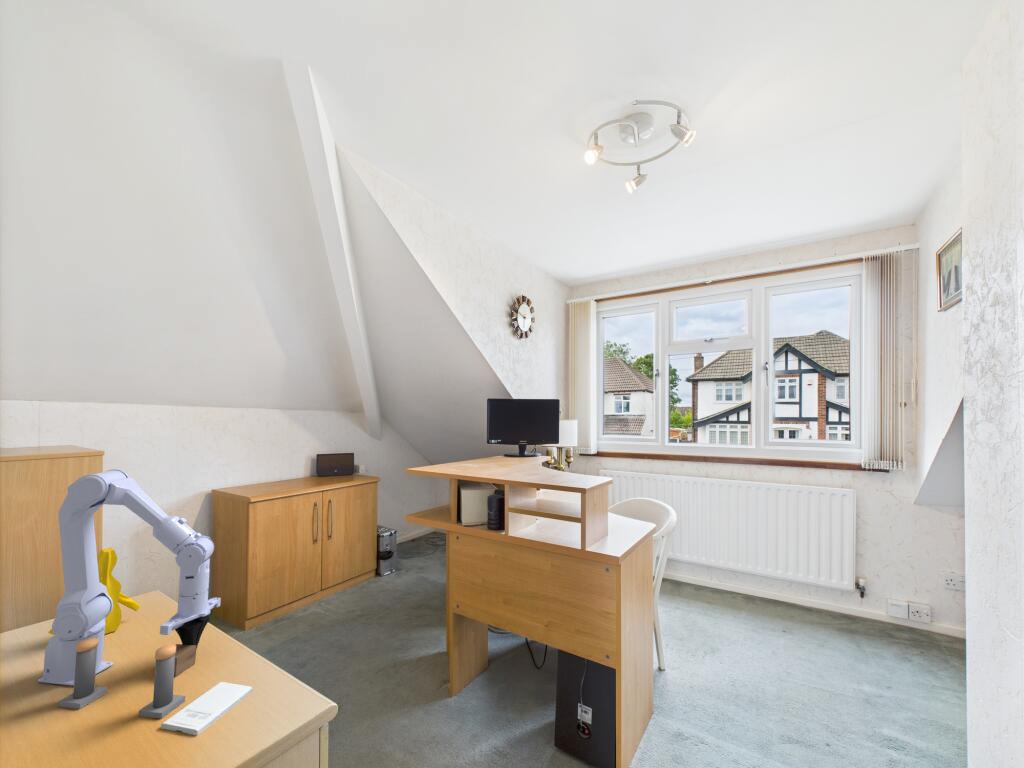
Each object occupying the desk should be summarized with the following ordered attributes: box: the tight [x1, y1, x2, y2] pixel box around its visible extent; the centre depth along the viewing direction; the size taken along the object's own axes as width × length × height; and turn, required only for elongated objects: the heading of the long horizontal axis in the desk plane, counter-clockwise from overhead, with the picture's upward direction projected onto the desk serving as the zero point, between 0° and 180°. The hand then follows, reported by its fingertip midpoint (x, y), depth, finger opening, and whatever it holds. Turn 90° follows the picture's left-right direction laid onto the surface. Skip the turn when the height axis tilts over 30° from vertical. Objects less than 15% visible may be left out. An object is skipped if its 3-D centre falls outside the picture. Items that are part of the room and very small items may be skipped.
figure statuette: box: [47, 547, 141, 636], centre depth 112 cm, size 18×8×22 cm, turn 147°
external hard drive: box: [160, 681, 253, 736], centre depth 84 cm, size 2×8×12 cm
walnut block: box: [174, 643, 197, 678], centre depth 97 cm, size 5×5×4 cm
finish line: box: [57, 638, 186, 719], centre depth 86 cm, size 23×5×11 cm, turn 83°
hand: (190, 651), depth 101 cm, fingers closed
